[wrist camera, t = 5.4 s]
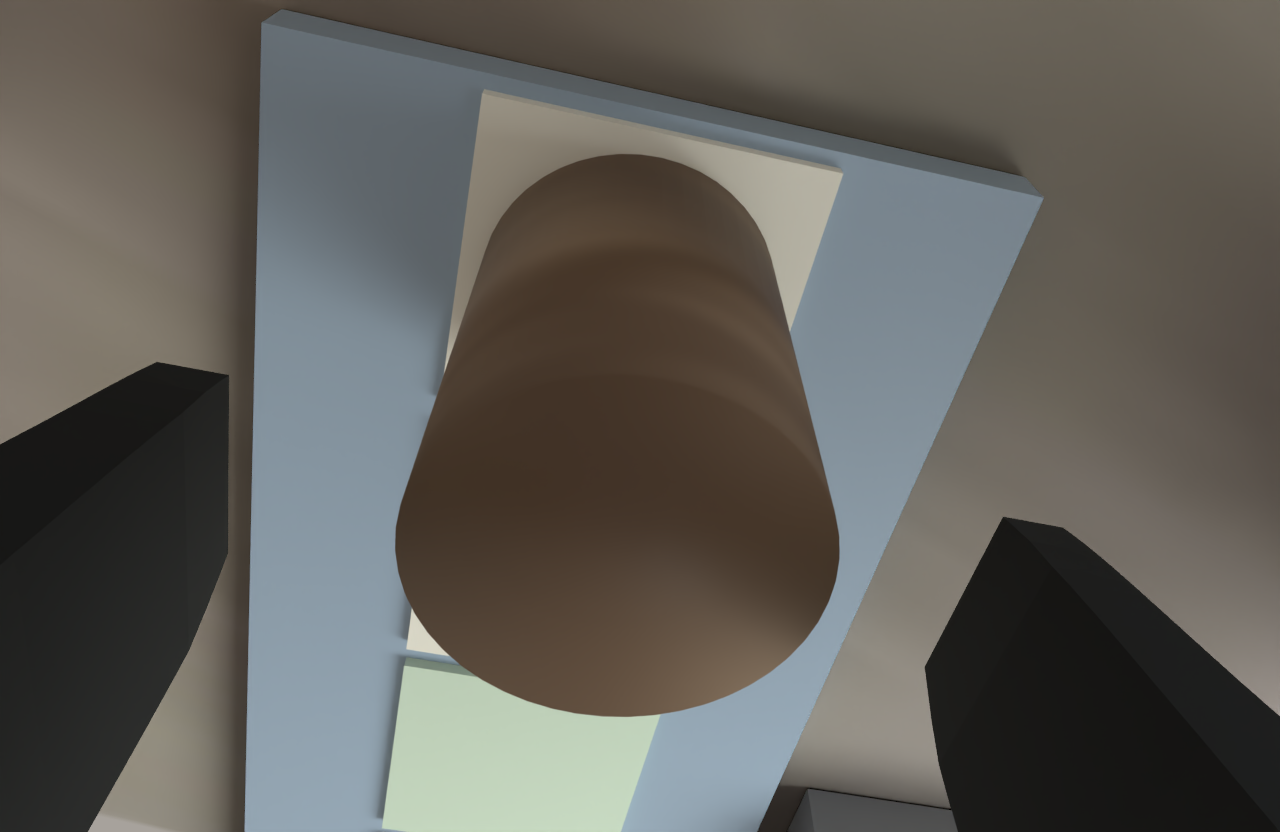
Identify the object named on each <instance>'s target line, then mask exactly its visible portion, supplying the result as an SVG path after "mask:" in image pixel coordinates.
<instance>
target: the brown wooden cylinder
mask: <svg viewBox="0 0 1280 832" xmlns="http://www.w3.org/2000/svg"><path fill="white" fill-rule="evenodd" d="M395 554H396V561H397V568H398V573H399V577H400V580H401V583H402V586H403V590H404V593H405V595H406V597H407V599H408V601H409V603H410V605H411V607H412V609H413V611H414V613H415V615H416V616H417V618H418V619H419V621H420V622H421V624H422V625H423V627H424V628H425V630H426V631H427V633H428V634H429V635H430V636H431V637H432V638H433V639H434V640H435V642H436V643H437V644H438V645H439V646H440V647H441V648H442V649H443V650H444V651H445V652H446V653H447V654H448V655H449V656H451V657H452V658H453V659H454V660H455V661H456V662H458V663H459V664H460V665H461V666H462V667H464V668H465V669H467V670H468V671H470V672H471V673H473V674H474V675H475V676H477V677H478V678H480V679H481V680H483V681H485V682H487V683H489V684H491V685H492V686H494V687H496V688H498V689H500V690H502V691H504V692H506V693H508V694H511V695H513V696H516V697H518V698H521V699H523V700H525V701H528V702H532V703H535V704H538V705H541V706H545V707H548V708H551V709H556V710H561V711H566V712H571V713H576V714H584V715H593V716H602V717H636V716H650V715H659V714H665V713H671V712H677V711H682V710H686V709H690V708H693V707H697V706H701V705H705V704H707V703H710V702H713V701H716V700H718V699H721V698H724V697H726V696H729V695H731V694H733V693H735V692H737V691H739V690H741V689H743V688H745V687H747V686H749V685H751V684H753V683H754V682H756V681H757V680H759V679H760V678H762V677H764V676H765V675H767V674H768V673H770V672H771V671H772V670H774V669H775V668H776V667H777V666H779V665H780V664H781V663H782V662H784V661H785V660H786V659H787V658H789V657H790V656H791V654H792V653H793V652H794V651H795V650H796V649H797V648H798V647H799V646H800V645H801V644H802V643H803V642H804V641H805V640H806V638H807V637H808V636H809V634H810V633H811V631H812V630H813V629H814V627H815V626H816V625H817V623H818V622H819V620H820V618H821V616H822V614H823V612H824V610H825V608H826V606H827V605H828V603H829V600H830V597H831V594H832V591H833V588H834V585H835V582H836V578H837V572H838V566H839V559H840V546H839V531H838V526H837V520H836V515H835V510H834V506H833V502H832V498H831V494H830V490H829V486H828V482H827V478H826V474H825V470H824V466H823V462H822V458H821V454H820V450H819V447H818V443H817V439H816V435H815V431H814V427H813V423H812V419H811V415H810V411H809V407H808V403H807V399H806V395H805V391H804V387H803V383H802V379H801V375H800V371H799V367H798V363H797V359H796V355H795V351H794V347H793V343H792V339H791V335H790V331H789V327H788V323H787V319H786V315H785V311H784V307H783V303H782V299H781V295H780V291H779V287H778V283H777V279H776V275H775V271H774V267H773V263H772V259H771V256H770V253H769V250H768V247H767V244H766V241H765V239H764V237H763V235H762V233H761V231H760V229H759V228H758V226H757V224H756V222H755V221H754V219H753V218H752V217H751V215H750V214H749V212H748V211H747V210H746V208H745V207H744V206H743V205H742V204H741V203H740V202H739V201H738V200H737V199H736V198H735V197H734V196H733V195H732V194H731V193H730V192H729V191H728V190H726V189H725V188H724V187H723V186H721V185H720V184H719V183H718V182H716V181H715V180H713V179H711V178H710V177H708V176H706V175H705V174H703V173H701V172H700V171H697V170H695V169H693V168H690V167H688V166H686V165H684V164H681V163H678V162H675V161H671V160H668V159H664V158H661V157H654V156H647V155H641V154H614V155H605V156H597V157H593V158H589V159H585V160H580V161H577V162H575V163H572V164H569V165H567V166H564V167H562V168H559V169H557V170H555V171H554V172H552V173H550V174H548V175H546V176H544V177H543V178H541V179H540V180H538V181H537V182H536V183H534V184H533V185H532V186H530V187H529V188H528V189H526V190H525V191H524V192H523V193H522V194H521V195H520V196H519V197H518V198H517V199H516V200H515V201H514V202H513V203H512V204H511V205H510V207H509V208H508V209H507V211H506V212H505V213H504V214H503V216H502V217H501V218H500V220H499V222H498V224H497V226H496V227H495V229H494V231H493V233H492V235H491V237H490V240H489V242H488V245H487V248H486V250H485V253H484V256H483V259H482V262H481V265H480V268H479V271H478V274H477V277H476V280H475V283H474V286H473V289H472V292H471V295H470V298H469V301H468V304H467V307H466V310H465V313H464V316H463V319H462V322H461V325H460V328H459V331H458V334H457V337H456V340H455V343H454V346H453V349H452V352H451V355H450V358H449V361H448V364H447V367H446V370H445V373H444V376H443V379H442V382H441V385H440V388H439V391H438V394H437V397H436V400H435V403H434V406H433V408H432V411H431V414H430V417H429V420H428V423H427V426H426V429H425V432H424V435H423V438H422V441H421V444H420V447H419V450H418V453H417V456H416V459H415V462H414V465H413V468H412V471H411V474H410V477H409V480H408V483H407V486H406V489H405V492H404V495H403V498H402V501H401V504H400V509H399V514H398V518H397V523H396V533H395Z"/></svg>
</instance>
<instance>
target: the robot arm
mask: <svg viewBox="0 0 1280 832" xmlns="http://www.w3.org/2000/svg"><path fill="white" fill-rule="evenodd" d="M228 427H229V375H225V374H220V373H214V372H209V371H203V370H198V369H192V368H187V367H181V366H176V365H170V364H165V363H159V362H156V363H154V364H152V365H150V366H148V367H146V368H143V369H141V370H139V371H137V372H135V373H133V374H131V375H129V376H127V377H126V378H124V379H122V380H120V381H118V382H116V383H114V384H112V385H110V386H109V387H107V388H105V389H103V390H101V391H99V392H97V393H96V394H94V395H92V396H90V397H88V398H86V399H84V400H83V401H81V402H79V403H77V404H75V405H73V406H72V407H70V408H68V409H66V410H64V411H62V412H60V413H59V414H57V415H55V416H53V417H51V418H49V419H48V420H46V421H44V422H42V423H40V424H38V425H36V426H34V427H33V428H31V429H29V430H27V431H25V432H23V433H21V434H19V435H17V436H15V437H13V438H12V439H10V440H8V441H6V442H4V443H2V444H0V832H88V830H89V828H90V827H91V825H92V823H93V821H94V820H95V818H96V816H97V814H98V813H99V811H100V809H101V807H102V806H103V804H104V802H105V800H106V798H107V797H108V795H109V793H110V791H111V790H112V788H113V786H114V784H115V782H116V781H117V779H118V777H119V775H120V774H121V772H122V770H123V768H124V767H125V765H126V763H127V761H128V759H129V758H130V756H131V754H132V752H133V751H134V749H135V747H136V745H137V743H138V742H139V740H140V738H141V736H142V735H143V733H144V731H145V729H146V727H147V726H148V724H149V722H150V720H151V718H152V717H153V715H154V713H155V711H156V709H157V708H158V706H159V704H160V702H161V700H162V699H163V697H164V695H165V693H166V691H167V690H168V688H169V686H170V684H171V682H172V681H173V679H174V677H175V675H176V673H177V672H178V670H179V668H180V666H181V664H182V662H183V660H184V659H185V657H186V655H187V653H188V651H189V649H190V647H191V644H192V642H193V639H194V637H195V635H196V632H197V630H198V627H199V625H200V623H201V620H202V618H203V615H204V613H205V610H206V608H207V606H208V603H209V600H210V598H211V595H212V593H213V590H214V588H215V585H216V582H217V580H218V577H219V575H220V572H221V569H222V567H223V564H224V562H225V559H226V557H227V554H228ZM925 672H926V680H927V688H928V696H929V703H930V711H931V719H932V725H933V731H934V737H935V743H936V749H937V755H938V761H939V766H940V770H941V774H942V777H943V781H944V785H945V788H946V792H947V796H948V799H949V803H950V806H951V810H952V813H953V817H954V820H955V824H956V827H957V831H958V832H1280V716H1279V715H1278V714H1276V713H1275V712H1274V711H1273V710H1272V709H1271V708H1269V707H1268V706H1267V705H1266V704H1265V703H1264V702H1263V701H1261V700H1260V699H1259V698H1258V697H1257V696H1256V695H1255V694H1254V693H1252V692H1251V691H1250V690H1249V689H1248V688H1247V687H1246V686H1244V685H1243V684H1242V683H1241V682H1240V681H1239V680H1238V679H1237V678H1235V677H1234V676H1233V675H1232V674H1231V673H1230V672H1229V671H1228V670H1227V669H1225V668H1224V667H1223V666H1222V665H1221V664H1220V663H1219V662H1218V661H1216V660H1215V659H1214V658H1213V657H1212V656H1211V655H1210V654H1209V653H1208V652H1206V651H1205V650H1204V649H1203V648H1202V647H1201V646H1200V645H1199V644H1198V643H1196V642H1195V641H1194V640H1193V639H1192V638H1191V637H1190V636H1189V635H1188V634H1187V633H1185V632H1184V631H1183V630H1182V629H1181V628H1180V627H1179V626H1178V625H1177V624H1175V623H1174V622H1173V621H1172V620H1171V619H1170V618H1169V617H1168V616H1167V615H1166V614H1164V613H1163V612H1162V611H1161V610H1160V609H1159V608H1158V607H1157V606H1156V605H1154V604H1153V603H1152V602H1151V601H1150V600H1149V599H1148V598H1147V597H1146V596H1144V595H1143V594H1142V593H1141V592H1140V591H1139V590H1138V589H1137V588H1136V587H1134V586H1133V585H1132V584H1131V583H1130V582H1129V581H1128V580H1126V579H1125V578H1124V577H1123V576H1122V575H1121V574H1120V573H1118V572H1117V571H1116V570H1115V569H1114V568H1113V567H1112V566H1110V565H1109V564H1108V563H1107V562H1106V561H1105V560H1103V559H1102V558H1101V557H1100V556H1099V555H1097V554H1096V553H1095V552H1094V551H1093V550H1091V549H1090V548H1089V547H1088V546H1086V545H1085V544H1084V543H1083V542H1081V541H1080V540H1079V539H1077V538H1076V537H1075V536H1073V535H1072V534H1071V533H1069V532H1068V531H1067V530H1065V529H1064V528H1062V527H1056V526H1051V525H1045V524H1040V523H1034V522H1029V521H1023V520H1018V519H1012V518H1007V517H1003V518H1002V520H1001V522H1000V524H999V526H998V528H997V530H996V532H995V533H994V535H993V537H992V539H991V541H990V543H989V545H988V547H987V549H986V551H985V553H984V555H983V556H982V558H981V560H980V562H979V564H978V566H977V568H976V570H975V572H974V574H973V576H972V578H971V579H970V581H969V583H968V585H967V587H966V589H965V591H964V593H963V595H962V597H961V599H960V600H959V602H958V604H957V606H956V608H955V610H954V612H953V614H952V616H951V618H950V620H949V622H948V623H947V625H946V627H945V629H944V631H943V633H942V635H941V637H940V639H939V641H938V643H937V645H936V646H935V648H934V650H933V652H932V654H931V656H930V658H929V660H928V662H927V664H926V666H925Z"/></svg>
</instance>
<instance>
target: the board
mask: <svg viewBox="0 0 1280 832" xmlns="http://www.w3.org/2000/svg"><path fill="white" fill-rule="evenodd" d="M614 154H641V155H647V156H654V157H661V158H664V159H668V160H671V161H675V162H678V163H681V164H684V165H686V166H688V167H690V168H693V169H695V170H697V171H700V172H701V173H703V174H705V175H706V176H708V177H710V178H711V179H713V180H715V181H716V182H718V183H719V184H720V185H721V186H723V187H724V188H725V189H726V190H728V191H729V192H730V193H731V194H732V195H733V196H734V197H735V198H736V199H737V200H738V201H739V202H740V203H741V204H742V205H743V206H744V207H745V208H746V210H747V211H748V212H749V214H750V215H751V217H752V218H753V219H754V221H755V222H756V224H757V226H758V228H759V229H760V231H761V233H762V235H763V237H764V239H765V241H766V244H767V247H768V250H769V253H770V256H771V259H772V263H773V267H774V271H775V275H776V279H777V283H778V287H779V291H780V295H781V299H782V303H783V307H784V311H785V315H786V319H787V323H788V327H789V331H790V335H791V339H792V343H793V347H794V351H795V355H796V359H797V363H798V367H799V371H800V375H801V379H802V383H803V387H804V391H805V395H806V399H807V403H808V407H809V411H810V415H811V419H812V423H813V427H814V431H815V435H816V439H817V443H818V447H819V450H820V454H821V458H822V462H823V466H824V470H825V474H826V478H827V482H828V486H829V490H830V494H831V498H832V502H833V506H834V510H835V515H836V520H837V526H838V531H839V546H840V559H839V566H838V572H837V578H836V582H835V585H834V588H833V591H832V594H831V597H830V600H829V603H828V605H827V606H826V608H825V610H824V612H823V614H822V616H821V618H820V620H819V622H818V623H817V625H816V626H815V627H814V629H813V630H812V631H811V633H810V634H809V636H808V637H807V638H806V640H805V641H804V642H803V643H802V644H801V645H800V646H799V647H798V648H797V649H796V650H795V651H794V652H793V653H792V654H791V656H790V657H789V658H787V659H786V660H785V661H784V662H782V663H781V664H780V665H779V666H777V667H776V668H775V669H774V670H772V671H771V672H770V673H768V674H767V675H765V676H764V677H762V678H760V679H759V680H757V681H756V682H754V683H753V684H751V685H749V686H747V687H745V688H743V689H741V690H739V691H737V692H735V693H733V694H731V695H729V696H726V697H724V698H721V699H718V700H716V701H713V702H710V703H707V704H705V705H701V706H697V707H693V708H690V709H686V710H682V711H677V712H671V713H665V714H659V715H650V716H636V717H602V716H593V715H584V714H576V713H571V712H566V711H561V710H556V709H551V708H548V707H545V706H541V705H538V704H535V703H532V702H528V701H525V700H523V699H521V698H518V697H516V696H513V695H511V694H508V693H506V692H504V691H502V690H500V689H498V688H496V687H494V686H492V685H491V684H489V683H487V682H485V681H483V680H481V679H480V678H478V677H477V676H475V675H474V674H473V673H471V672H470V671H468V670H467V669H465V668H464V667H462V666H461V665H460V664H459V663H458V662H456V661H455V660H454V659H453V658H452V657H451V656H449V655H448V654H447V653H446V652H445V651H444V650H443V649H442V648H441V647H440V646H439V645H438V644H437V643H436V642H435V640H434V639H433V638H432V637H431V636H430V635H429V634H428V633H427V631H426V630H425V628H424V627H423V625H422V624H421V622H420V621H419V619H418V618H417V616H416V615H415V613H414V611H413V609H412V607H411V605H410V603H409V601H408V599H407V597H406V595H405V593H404V590H403V586H402V583H401V580H400V577H399V573H398V568H397V561H396V554H395V533H396V523H397V518H398V514H399V509H400V504H401V501H402V498H403V495H404V492H405V489H406V486H407V483H408V480H409V477H410V474H411V471H412V468H413V465H414V462H415V459H416V456H417V453H418V450H419V447H420V444H421V441H422V438H423V435H424V432H425V429H426V426H427V423H428V420H429V417H430V414H431V411H432V408H433V406H434V403H435V400H436V397H437V394H438V391H439V388H440V385H441V382H442V379H443V376H444V373H445V370H446V367H447V364H448V361H449V358H450V355H451V352H452V349H453V346H454V343H455V340H456V337H457V334H458V331H459V328H460V325H461V322H462V319H463V316H464V313H465V310H466V307H467V304H468V301H469V298H470V295H471V292H472V289H473V286H474V283H475V280H476V277H477V274H478V271H479V268H480V265H481V262H482V259H483V256H484V253H485V250H486V248H487V245H488V242H489V240H490V237H491V235H492V233H493V231H494V229H495V227H496V226H497V224H498V222H499V220H500V218H501V217H502V216H503V214H504V213H505V212H506V211H507V209H508V208H509V207H510V205H511V204H512V203H513V202H514V201H515V200H516V199H517V198H518V197H519V196H520V195H521V194H522V193H523V192H524V191H525V190H526V189H528V188H529V187H530V186H532V185H533V184H534V183H536V182H537V181H538V180H540V179H541V178H543V177H544V176H546V175H548V174H550V173H552V172H554V171H555V170H557V169H559V168H562V167H564V166H567V165H569V164H572V163H575V162H577V161H580V160H585V159H589V158H593V157H597V156H605V155H614ZM1043 199H1044V197H1043V196H1042V195H1041V194H1040V193H1039V192H1038V191H1037V190H1036V189H1035V188H1034V186H1033V185H1032V184H1031V183H1030V182H1029V181H1028V180H1027V179H1026V178H1025V177H1023V176H1018V175H1014V174H1009V173H1005V172H1001V171H996V170H992V169H987V168H983V167H978V166H974V165H970V164H965V163H961V162H956V161H952V160H948V159H943V158H939V157H934V156H930V155H925V154H921V153H917V152H912V151H908V150H903V149H899V148H894V147H890V146H886V145H881V144H877V143H872V142H868V141H863V140H859V139H855V138H850V137H846V136H841V135H837V134H832V133H828V132H824V131H819V130H815V129H810V128H806V127H802V126H797V125H793V124H788V123H784V122H779V121H775V120H771V119H766V118H762V117H757V116H753V115H748V114H744V113H740V112H735V111H731V110H726V109H722V108H717V107H713V106H709V105H704V104H700V103H695V102H691V101H686V100H682V99H678V98H673V97H669V96H664V95H660V94H656V93H651V92H647V91H642V90H638V89H633V88H629V87H625V86H620V85H616V84H611V83H607V82H602V81H598V80H594V79H589V78H585V77H580V76H576V75H571V74H567V73H563V72H558V71H554V70H549V69H545V68H540V67H536V66H532V65H527V64H523V63H518V62H514V61H510V60H505V59H501V58H496V57H492V56H487V55H483V54H479V53H474V52H470V51H465V50H461V49H456V48H452V47H448V46H443V45H439V44H434V43H430V42H425V41H421V40H417V39H412V38H408V37H403V36H399V35H394V34H390V33H386V32H381V31H377V30H372V29H368V28H363V27H359V26H355V25H350V24H346V23H341V22H337V21H333V20H328V19H324V18H319V17H315V16H310V15H306V14H302V13H297V12H293V11H288V10H284V9H281V10H280V11H278V12H277V13H275V14H274V15H272V16H271V17H269V18H268V19H266V20H265V21H263V22H262V25H261V72H260V120H259V168H258V215H257V263H256V311H255V358H254V406H253V454H252V501H251V549H250V597H249V644H248V692H247V740H246V787H245V832H757V831H758V828H759V826H760V824H761V822H762V820H763V817H764V815H765V813H766V811H767V809H768V806H769V804H770V802H771V800H772V797H773V795H774V793H775V791H776V789H777V786H778V784H779V782H780V780H781V778H782V775H783V773H784V771H785V769H786V767H787V764H788V762H789V760H790V758H791V756H792V753H793V751H794V749H795V747H796V744H797V742H798V740H799V738H800V736H801V733H802V731H803V729H804V727H805V725H806V722H807V720H808V718H809V716H810V714H811V711H812V709H813V707H814V705H815V703H816V700H817V698H818V696H819V694H820V691H821V689H822V687H823V685H824V683H825V680H826V678H827V676H828V674H829V672H830V669H831V667H832V665H833V663H834V661H835V658H836V656H837V654H838V652H839V649H840V647H841V645H842V643H843V641H844V638H845V636H846V634H847V632H848V630H849V627H850V625H851V623H852V621H853V619H854V616H855V614H856V612H857V610H858V608H859V605H860V603H861V601H862V599H863V596H864V594H865V592H866V590H867V588H868V585H869V583H870V581H871V579H872V577H873V574H874V572H875V570H876V568H877V566H878V563H879V561H880V559H881V557H882V555H883V552H884V550H885V548H886V546H887V543H888V541H889V539H890V537H891V535H892V532H893V530H894V528H895V526H896V524H897V521H898V519H899V517H900V515H901V513H902V510H903V508H904V506H905V504H906V501H907V499H908V497H909V495H910V493H911V490H912V488H913V486H914V484H915V482H916V479H917V477H918V475H919V473H920V471H921V468H922V466H923V464H924V462H925V460H926V457H927V455H928V453H929V451H930V448H931V446H932V444H933V442H934V440H935V437H936V435H937V433H938V431H939V429H940V426H941V424H942V422H943V420H944V418H945V415H946V413H947V411H948V409H949V407H950V404H951V402H952V400H953V398H954V395H955V393H956V391H957V389H958V387H959V384H960V382H961V380H962V378H963V376H964V373H965V371H966V369H967V367H968V365H969V362H970V360H971V358H972V356H973V353H974V351H975V349H976V347H977V345H978V342H979V340H980V338H981V336H982V334H983V331H984V329H985V327H986V325H987V323H988V320H989V318H990V316H991V314H992V312H993V309H994V307H995V305H996V303H997V300H998V298H999V296H1000V294H1001V292H1002V289H1003V287H1004V285H1005V283H1006V281H1007V278H1008V276H1009V274H1010V272H1011V270H1012V267H1013V265H1014V263H1015V261H1016V259H1017V256H1018V254H1019V252H1020V250H1021V247H1022V245H1023V243H1024V241H1025V239H1026V236H1027V234H1028V232H1029V230H1030V228H1031V225H1032V223H1033V221H1034V219H1035V217H1036V214H1037V212H1038V210H1039V208H1040V206H1041V203H1042V201H1043Z"/></svg>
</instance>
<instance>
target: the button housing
mask: <svg viewBox="0 0 1280 832" xmlns="http://www.w3.org/2000/svg"><path fill="white" fill-rule="evenodd" d="M787 832H958V831H957V827H956V824H955V820H954V817H953V813H952V810H946V809H939V808H932V807H926V806H919V805H913V804H906V803H899V802H893V801H886V800H880V799H873V798H866V797H860V796H853V795H846V794H840V793H833V792H827V791H820V790H813V789H807V791H806V793H805V795H804V797H803V799H802V801H801V804H800V806H799V808H798V810H797V812H796V814H795V816H794V818H793V820H792V822H791V824H790V827H789V829H788V831H787Z"/></svg>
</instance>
